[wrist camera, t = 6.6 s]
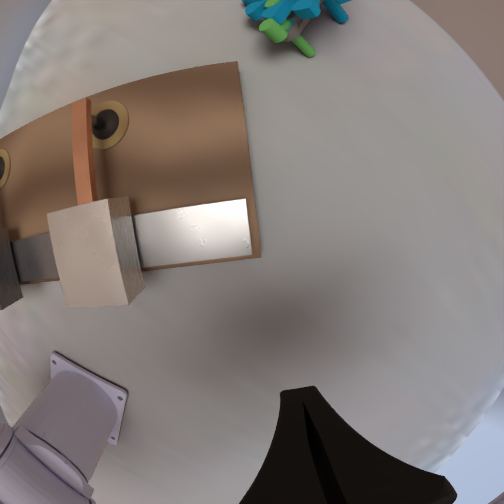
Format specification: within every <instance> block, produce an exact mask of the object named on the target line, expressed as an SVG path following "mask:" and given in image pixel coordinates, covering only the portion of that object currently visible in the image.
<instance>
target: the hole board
mask: <svg viewBox="0 0 504 504" xmlns="http://www.w3.org/2000/svg"><path fill="white" fill-rule="evenodd" d="M86 98H88V99H90V100H91V114H93V115H95V116H97V117H99V118H102V119H103V120H104V126H103V128H102V129H100V130H98V131H97V130H94V129H92V143H93V158H94V170H95V180H96V189H97V197H98V201H99V200H104V199H108V198H118V197H127V196H129V203H130V210H131V215H136V214H141V213H147V212H153V211H159V210H165V209H172V208H178V207H184V206H191V205H198V204H205V203H212V202H220V201H227V200H235V199H243V198H245V199H246V207H247V216H248V224H249V232H250V240H251V249H252V255H245V256H237V257H229V258H220V259H212V260H203V261H195V262H187V263H178V264H170V265H161V266H153V267H144V268H141V271H148V270H157V269H166V268H174V267H183V266H192V265H200V264H209V263H217V262H226V261H234V260H243V259H251V258H259V257H261V251H260V242H259V234H258V225H257V216H256V208H255V199H254V191H253V183H252V174H251V166H250V158H249V149H248V141H247V133H246V125H245V117H244V109H243V101H242V93H241V85H240V78H239V70H238V62H237V61H236V62H227V63H219V64H212V65H206V66H200V67H194V68H189V69H184V70H179V71H174V72H169V73H165V74H161V75H156V76H152V77H148V78H145V79H141V80H137V81H134V82H130V83H127V84H124V85H121V86H117V87H114V88H111V89H108V90H105V91H102V92H99V93H97V94H94V95H91V96H89V97H86ZM83 99H84V98H83ZM81 100H82V99H81ZM78 101H79V100H78ZM76 102H77V101H76ZM73 103H74V102H73ZM74 206H78V202H77V194H76V185H75V175H74V163H73V146H72V103H71V104H69V105H66V106H64V107H62V108H59V109H57V110H55V111H53V112H51V113H48V114H46V115H44V116H42V117H40V118H38V119H36V120H34V121H32V122H30V123H28V124H26V125H24V126H23V127H21V128H19V129H17V130H15V131H14V132H12V133H10V134H8V135H7V136H5V137H3V138H2V139H0V229H3V228H7V229H8V235H9V241H10V242H11V241H15V240H19V239H23V238H27V237H31V236H35V235H39V234H43V233H48V232H50V231H49V225H48V219H47V214H48V213H52V212H55V211H59V210H63V209H66V208H70V207H74ZM58 280H60V278H59V277H58V278H49V279H41V280H32V281H23V282H19V285H20V284H30V283H39V282H49V281H58Z"/></svg>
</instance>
